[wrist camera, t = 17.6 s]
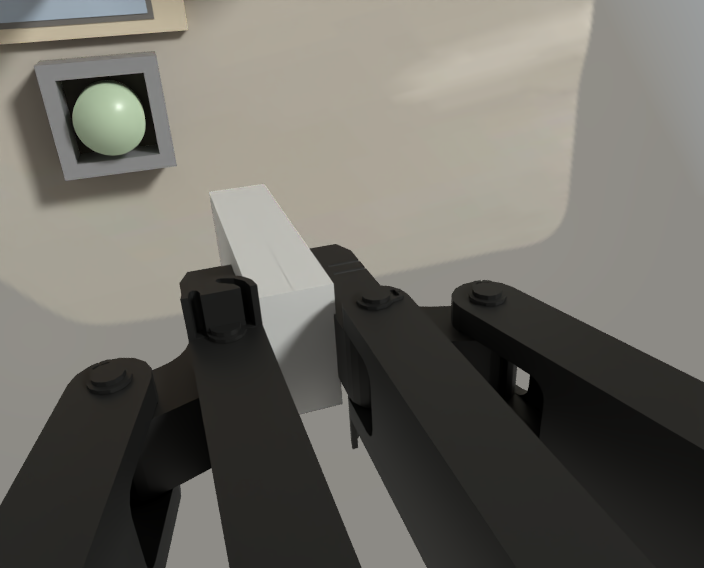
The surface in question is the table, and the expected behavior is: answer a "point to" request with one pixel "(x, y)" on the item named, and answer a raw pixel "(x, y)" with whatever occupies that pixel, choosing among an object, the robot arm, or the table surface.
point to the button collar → (63, 128)
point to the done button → (109, 117)
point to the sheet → (86, 18)
